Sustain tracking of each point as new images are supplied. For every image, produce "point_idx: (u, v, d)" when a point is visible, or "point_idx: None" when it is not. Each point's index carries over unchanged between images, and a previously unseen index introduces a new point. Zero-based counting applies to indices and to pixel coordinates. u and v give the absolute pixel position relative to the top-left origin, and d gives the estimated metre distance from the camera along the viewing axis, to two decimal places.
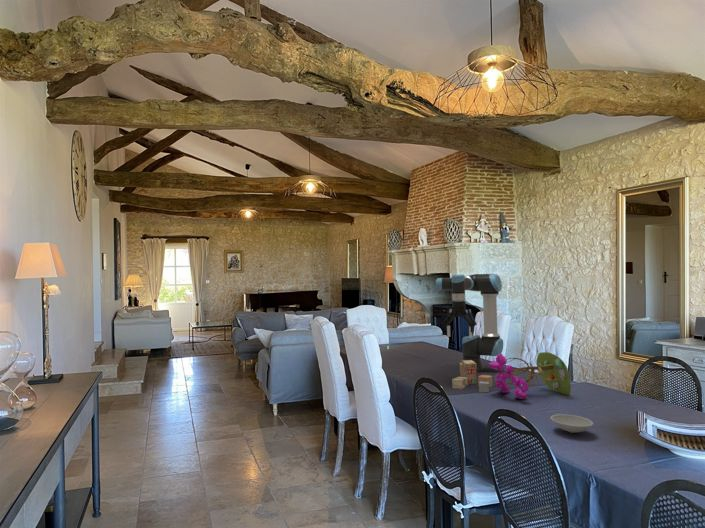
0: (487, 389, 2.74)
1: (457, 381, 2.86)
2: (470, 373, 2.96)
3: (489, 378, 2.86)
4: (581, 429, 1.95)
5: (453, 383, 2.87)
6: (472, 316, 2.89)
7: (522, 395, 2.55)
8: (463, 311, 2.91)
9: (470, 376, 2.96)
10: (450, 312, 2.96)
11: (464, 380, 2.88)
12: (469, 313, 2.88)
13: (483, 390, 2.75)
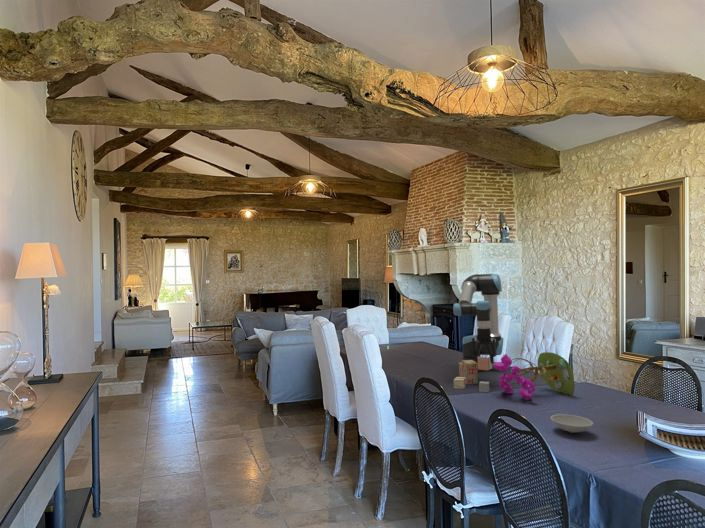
0: (487, 389, 2.74)
1: (459, 381, 2.85)
2: (471, 372, 2.97)
3: None
4: (581, 429, 1.95)
5: (454, 384, 2.86)
6: (495, 346, 2.87)
7: (528, 396, 2.54)
8: (488, 339, 2.87)
9: (471, 376, 2.97)
10: (476, 340, 2.92)
11: (464, 380, 2.89)
12: (493, 343, 2.85)
13: (483, 390, 2.75)
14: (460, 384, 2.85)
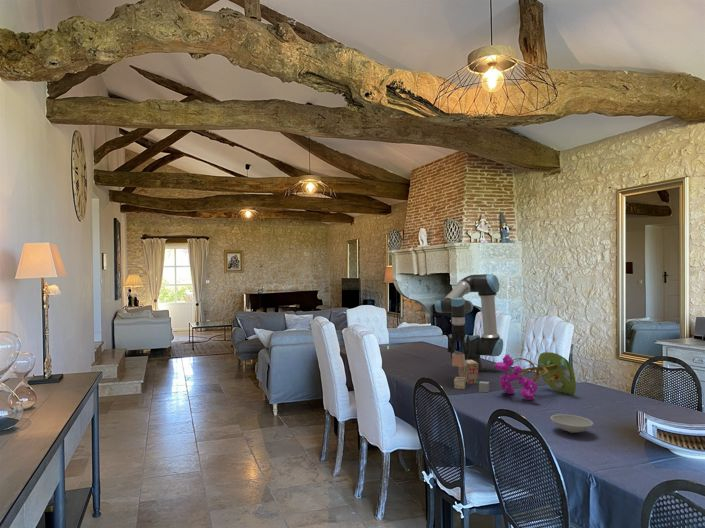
0: (487, 389, 2.74)
1: (459, 381, 2.85)
2: (472, 372, 2.97)
3: None
4: (581, 429, 1.95)
5: (455, 384, 2.86)
6: (469, 343, 2.87)
7: (530, 396, 2.53)
8: (463, 335, 2.88)
9: (472, 376, 2.97)
10: (451, 337, 2.92)
11: (464, 380, 2.89)
12: (467, 340, 2.86)
13: (483, 390, 2.75)
14: (461, 384, 2.85)
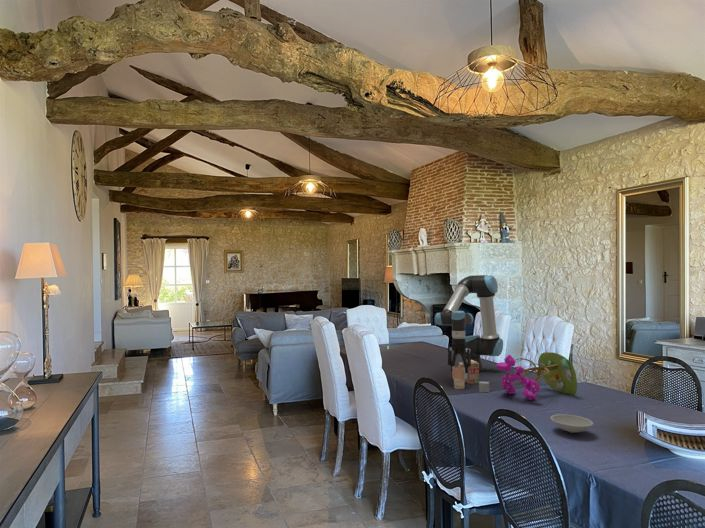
0: (487, 389, 2.74)
1: (459, 381, 2.85)
2: (473, 372, 2.98)
3: (463, 370, 2.87)
4: (581, 429, 1.95)
5: (454, 384, 2.85)
6: (470, 357, 2.87)
7: (532, 396, 2.53)
8: (463, 349, 2.87)
9: (472, 376, 2.97)
10: (451, 350, 2.92)
11: (464, 380, 2.89)
12: (468, 353, 2.85)
13: (483, 390, 2.75)
14: (460, 384, 2.85)
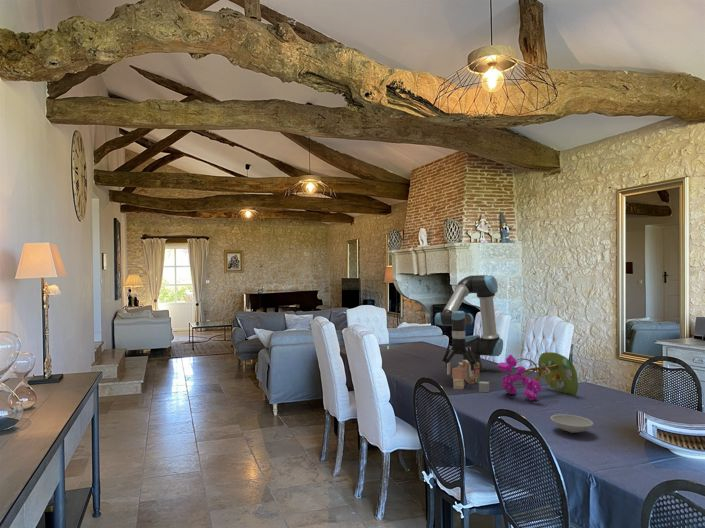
0: (487, 389, 2.74)
1: (458, 381, 2.84)
2: (473, 372, 2.98)
3: (463, 370, 2.87)
4: (581, 429, 1.95)
5: (454, 384, 2.85)
6: (472, 354, 2.86)
7: (533, 396, 2.53)
8: (463, 349, 2.87)
9: (473, 375, 2.98)
10: (450, 349, 2.93)
11: None
12: (469, 351, 2.85)
13: (483, 390, 2.75)
14: (460, 384, 2.84)
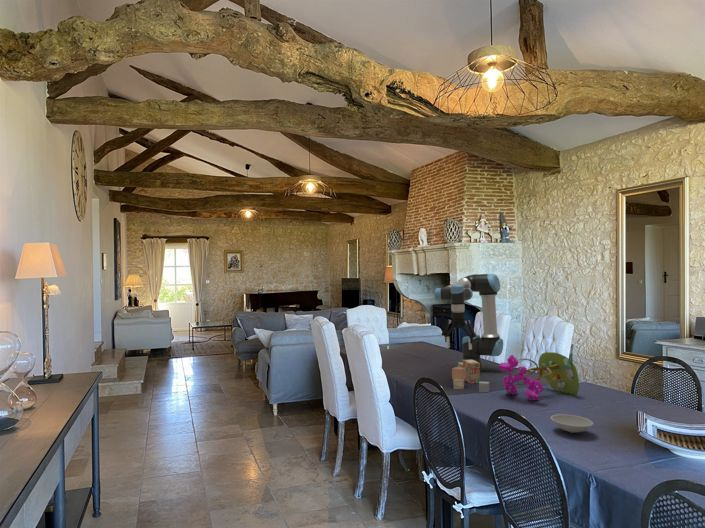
0: (487, 389, 2.74)
1: (459, 381, 2.84)
2: (474, 372, 2.98)
3: (462, 370, 2.87)
4: (581, 429, 1.95)
5: (454, 384, 2.85)
6: None
7: (535, 396, 2.52)
8: (462, 322, 2.88)
9: (473, 375, 2.98)
10: (449, 323, 2.93)
11: (463, 380, 2.88)
12: (468, 324, 2.85)
13: (483, 390, 2.75)
14: (460, 384, 2.84)
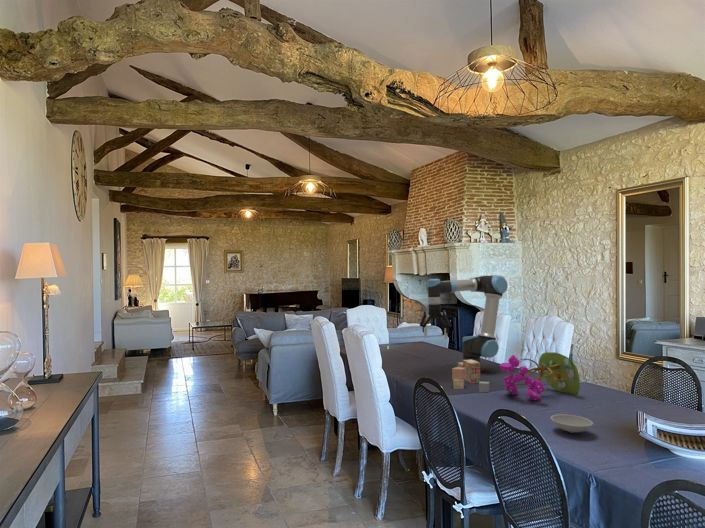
0: (487, 389, 2.74)
1: (459, 381, 2.84)
2: (474, 372, 2.98)
3: (463, 370, 2.87)
4: (581, 429, 1.95)
5: (454, 384, 2.85)
6: (447, 318, 3.07)
7: (536, 396, 2.52)
8: (439, 313, 3.09)
9: (474, 375, 2.98)
10: (426, 314, 3.14)
11: (463, 380, 2.88)
12: (444, 315, 3.06)
13: (483, 390, 2.75)
14: (460, 384, 2.84)
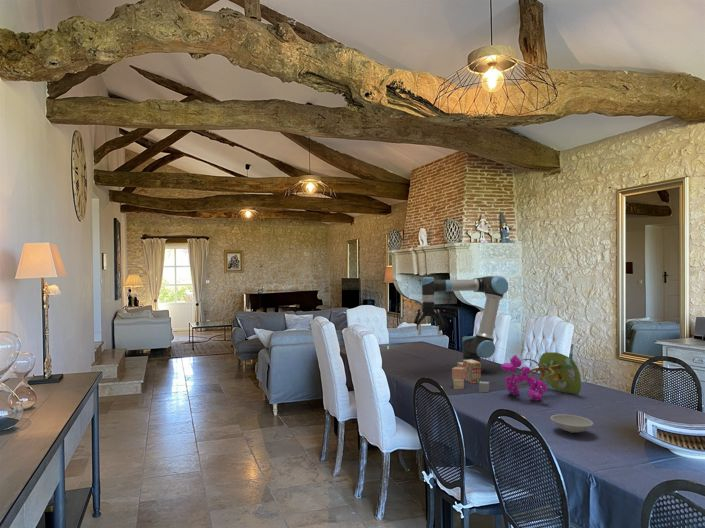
0: (487, 389, 2.74)
1: (459, 382, 2.84)
2: (475, 372, 2.99)
3: (463, 370, 2.87)
4: (581, 429, 1.95)
5: (454, 384, 2.85)
6: (440, 316, 3.13)
7: (538, 397, 2.52)
8: (432, 311, 3.14)
9: (475, 375, 2.98)
10: (420, 312, 3.20)
11: (463, 380, 2.88)
12: (437, 313, 3.12)
13: (483, 390, 2.75)
14: (460, 384, 2.84)
